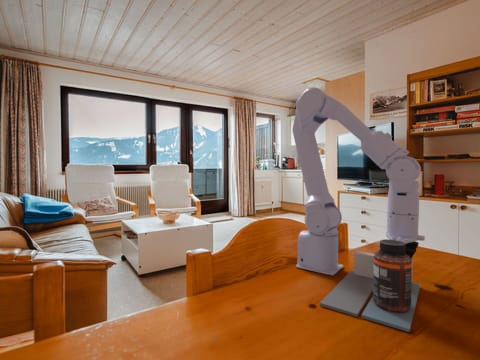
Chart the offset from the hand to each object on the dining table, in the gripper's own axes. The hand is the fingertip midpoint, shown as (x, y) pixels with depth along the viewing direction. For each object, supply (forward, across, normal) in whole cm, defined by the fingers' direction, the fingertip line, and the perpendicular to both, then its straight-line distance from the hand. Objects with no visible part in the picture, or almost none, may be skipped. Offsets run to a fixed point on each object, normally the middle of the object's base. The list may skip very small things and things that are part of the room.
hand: (400, 276), depth 59 cm
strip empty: (+2, -9, +7) cm, 12 cm away
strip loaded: (+2, -9, 0) cm, 9 cm away
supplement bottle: (+2, -13, 0) cm, 13 cm away
